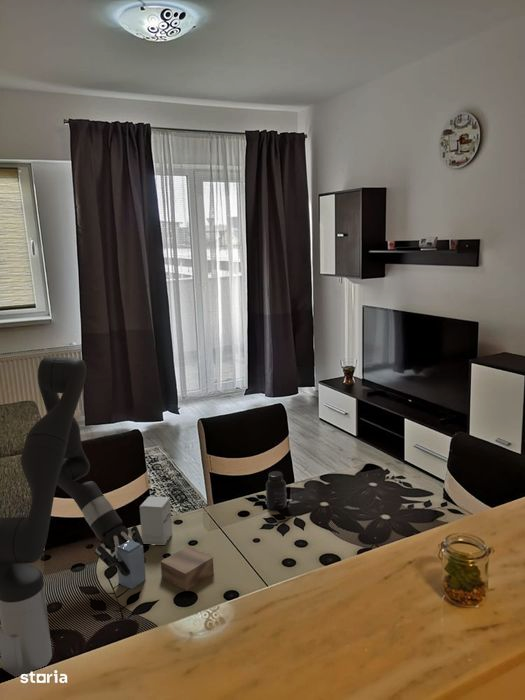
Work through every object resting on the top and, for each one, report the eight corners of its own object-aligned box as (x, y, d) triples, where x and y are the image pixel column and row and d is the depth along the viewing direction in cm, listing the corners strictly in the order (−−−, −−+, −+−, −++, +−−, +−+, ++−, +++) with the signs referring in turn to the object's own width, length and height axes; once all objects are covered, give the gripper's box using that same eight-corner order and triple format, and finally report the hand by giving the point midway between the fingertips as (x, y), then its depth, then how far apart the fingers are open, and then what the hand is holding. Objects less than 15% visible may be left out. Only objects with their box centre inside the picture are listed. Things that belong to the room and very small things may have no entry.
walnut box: (186, 591, 147) (185, 573, 146) (161, 578, 153) (160, 561, 153) (213, 574, 154) (212, 557, 154) (189, 562, 161) (188, 546, 160)
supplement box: (164, 546, 169) (161, 507, 167) (141, 545, 171) (138, 506, 169) (173, 534, 176) (170, 496, 174) (151, 533, 178) (148, 495, 176)
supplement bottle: (263, 505, 194) (262, 472, 192) (281, 500, 197) (279, 468, 195) (272, 513, 188) (270, 479, 186) (290, 508, 191) (289, 475, 189)
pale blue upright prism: (131, 589, 148) (128, 552, 146) (118, 583, 151) (115, 547, 149) (145, 579, 152) (142, 543, 151) (132, 574, 155) (129, 538, 153)
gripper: (86, 521, 147) (121, 576, 142) (127, 500, 158) (161, 550, 154) (74, 535, 151) (109, 589, 146) (116, 513, 162) (149, 563, 158)
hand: (136, 569), depth 150 cm, fingers closed on pale blue upright prism, 5 cm apart
